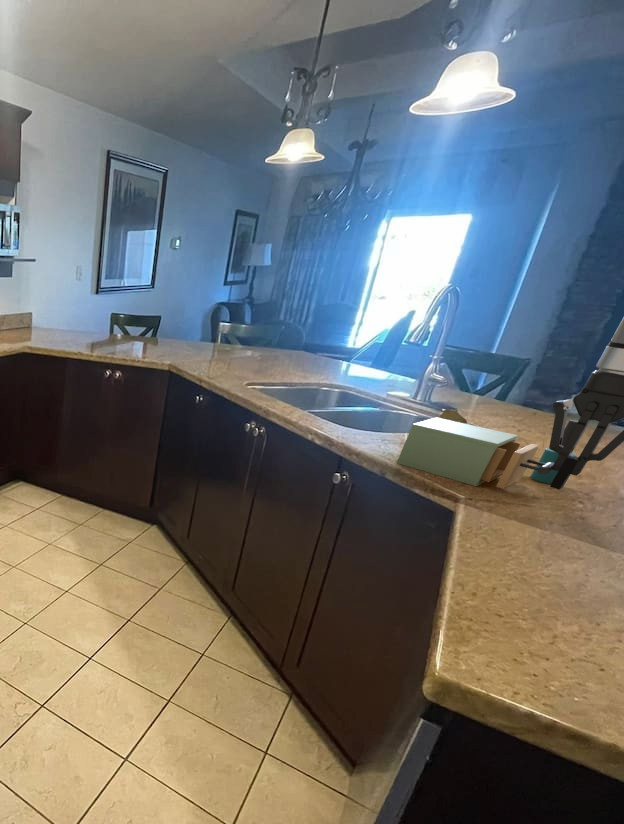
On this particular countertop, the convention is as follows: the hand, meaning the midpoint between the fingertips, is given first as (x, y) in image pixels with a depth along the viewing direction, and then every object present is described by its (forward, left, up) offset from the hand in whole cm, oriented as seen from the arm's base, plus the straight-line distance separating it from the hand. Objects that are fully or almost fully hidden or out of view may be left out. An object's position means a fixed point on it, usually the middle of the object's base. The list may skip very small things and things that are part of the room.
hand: (556, 486), depth 100 cm
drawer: (+11, 0, -2) cm, 11 cm away
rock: (+23, -20, -3) cm, 31 cm away
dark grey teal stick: (+3, -14, -3) cm, 15 cm away
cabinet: (+17, 0, -3) cm, 18 cm away
